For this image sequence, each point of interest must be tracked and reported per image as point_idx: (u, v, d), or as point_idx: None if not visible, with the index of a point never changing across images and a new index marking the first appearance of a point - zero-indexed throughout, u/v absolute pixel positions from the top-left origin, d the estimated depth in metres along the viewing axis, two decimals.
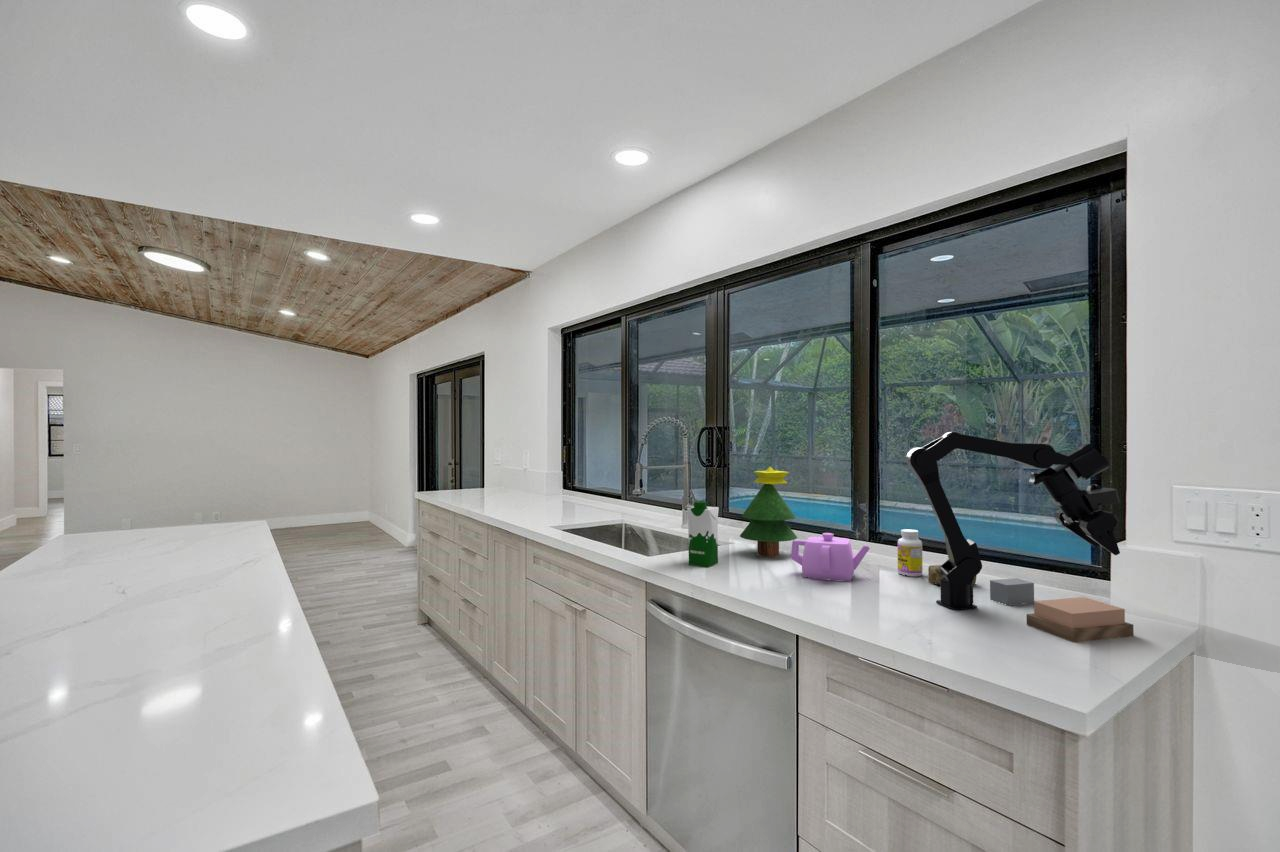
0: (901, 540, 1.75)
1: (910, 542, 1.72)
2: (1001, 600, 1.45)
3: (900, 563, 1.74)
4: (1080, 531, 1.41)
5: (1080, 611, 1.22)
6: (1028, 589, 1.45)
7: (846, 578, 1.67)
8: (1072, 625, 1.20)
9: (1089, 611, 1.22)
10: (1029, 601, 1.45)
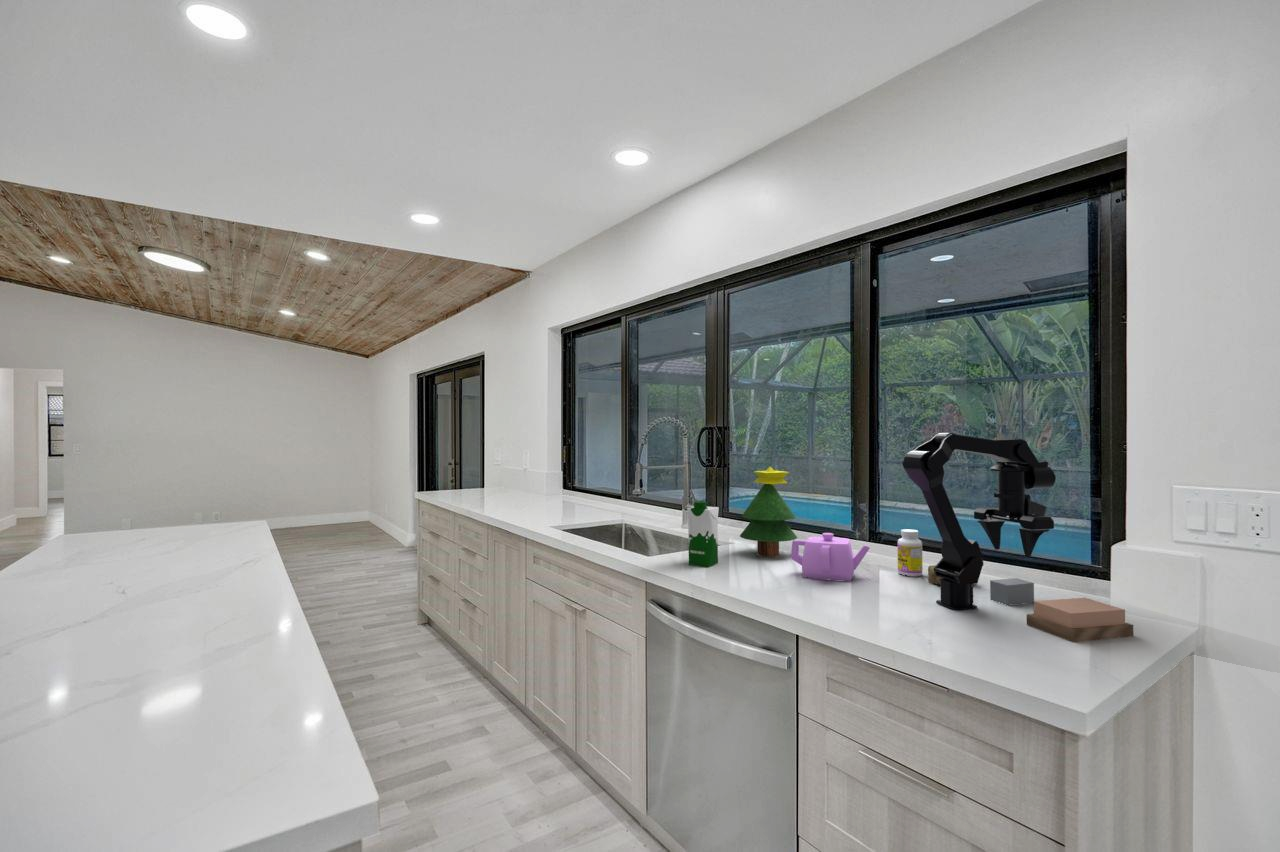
0: (901, 540, 1.75)
1: (910, 542, 1.72)
2: (1002, 600, 1.45)
3: (900, 563, 1.74)
4: (992, 531, 1.52)
5: (1079, 611, 1.22)
6: (1028, 589, 1.45)
7: (846, 578, 1.67)
8: (1071, 624, 1.20)
9: (1088, 611, 1.22)
10: (1029, 601, 1.46)
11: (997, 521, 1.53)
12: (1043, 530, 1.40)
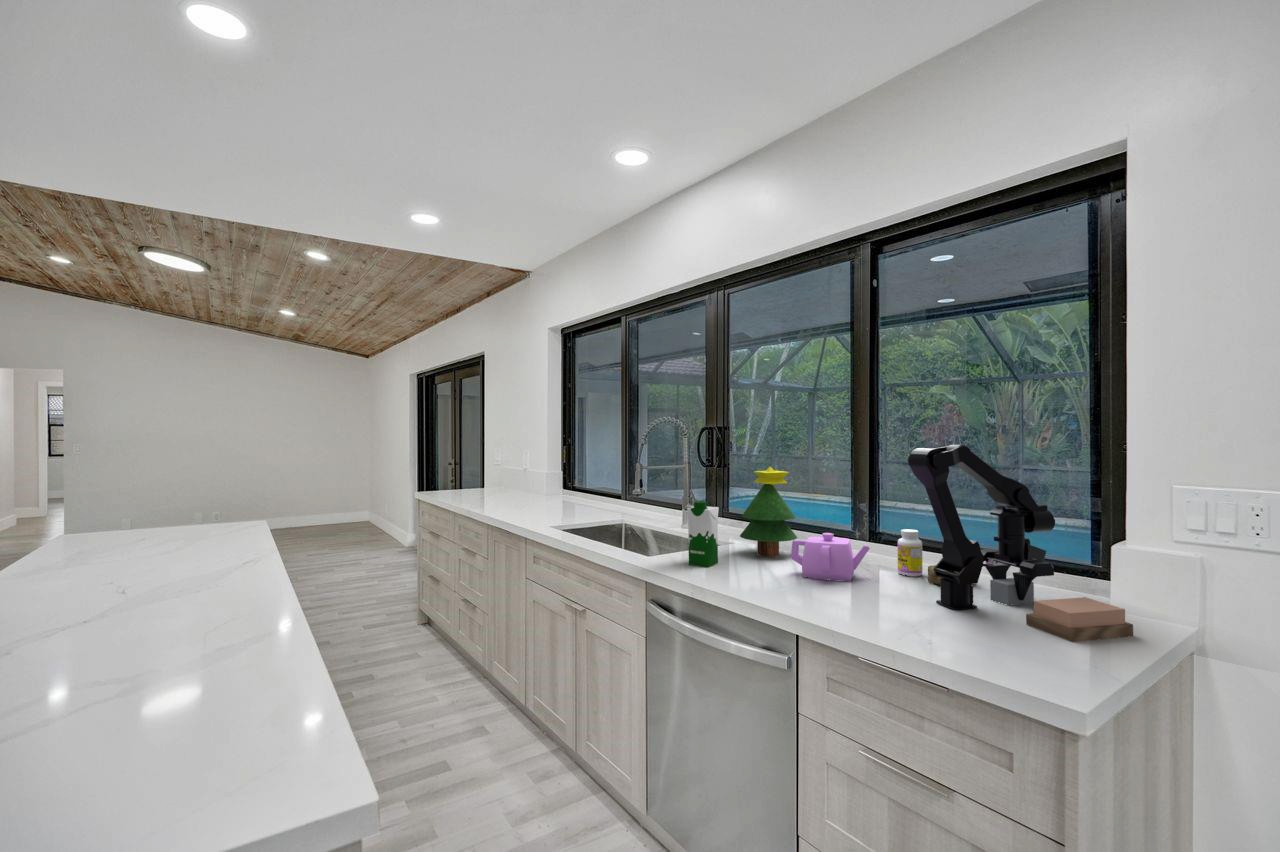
0: (901, 540, 1.75)
1: (910, 542, 1.72)
2: (1002, 600, 1.45)
3: (900, 563, 1.74)
4: (998, 575, 1.50)
5: (1079, 610, 1.22)
6: None
7: (846, 578, 1.67)
8: (1070, 624, 1.20)
9: (1088, 611, 1.22)
10: (1029, 600, 1.46)
11: (1003, 565, 1.51)
12: None
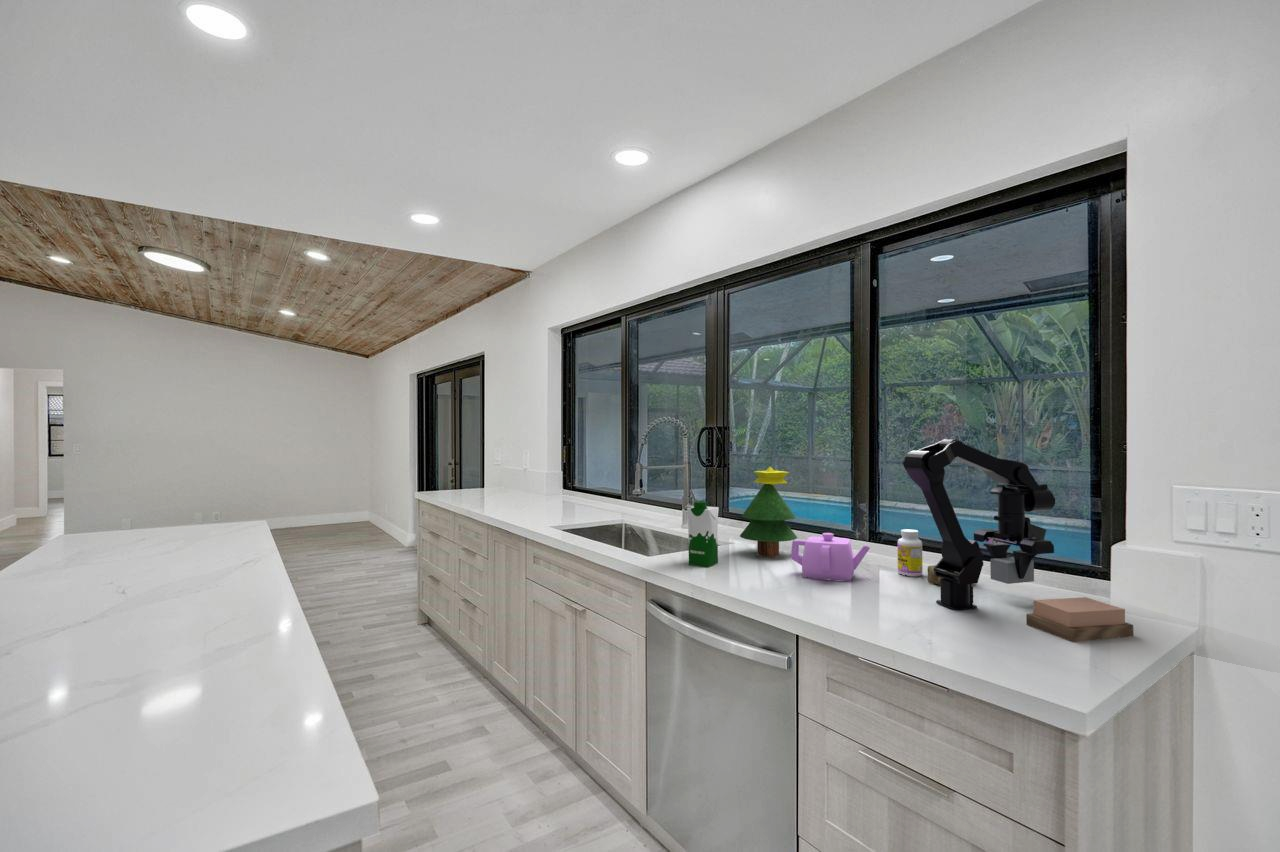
0: (901, 540, 1.75)
1: (910, 542, 1.72)
2: (1002, 578, 1.45)
3: (900, 563, 1.74)
4: (998, 554, 1.50)
5: (1078, 610, 1.22)
6: (1028, 567, 1.46)
7: (846, 578, 1.67)
8: (1069, 623, 1.21)
9: (1087, 610, 1.22)
10: (1029, 578, 1.46)
11: (1003, 544, 1.51)
12: None
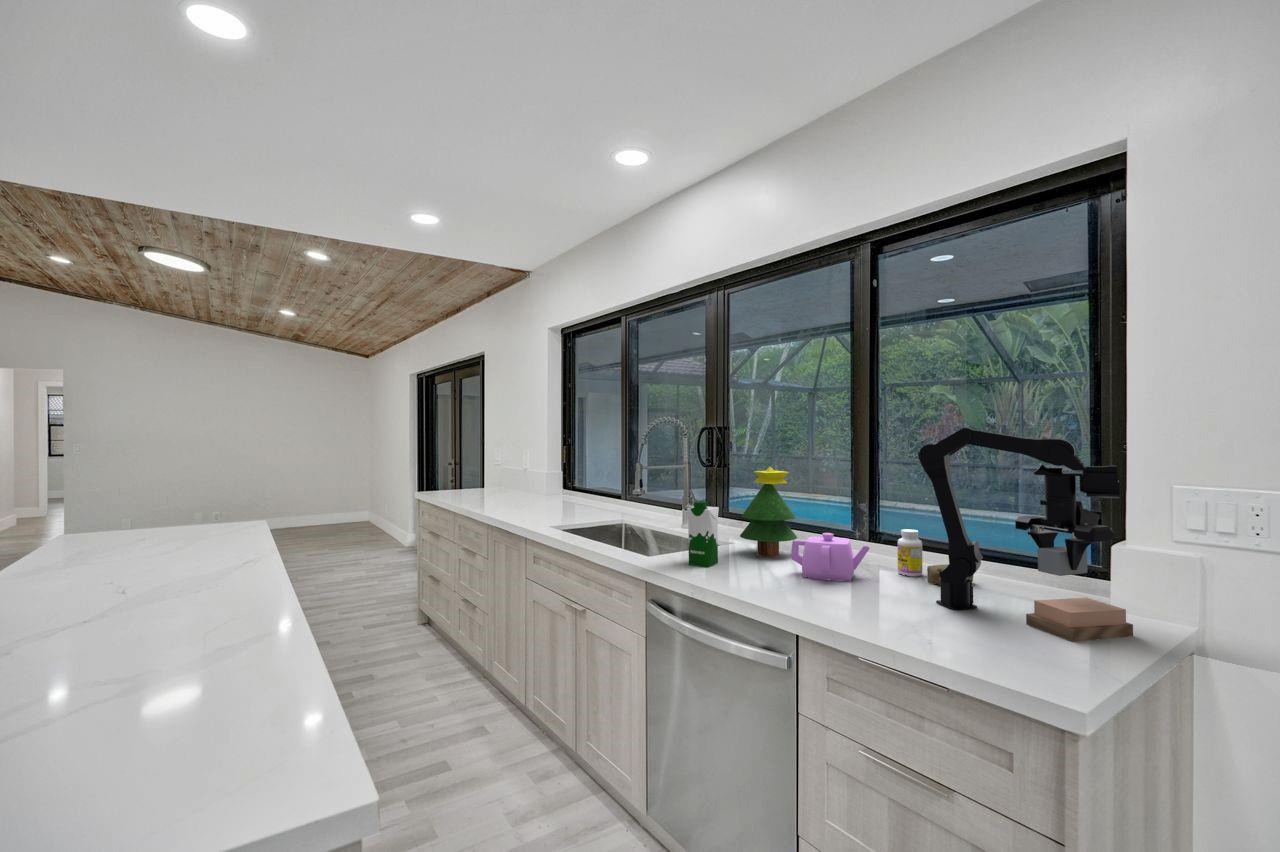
0: (901, 540, 1.75)
1: (910, 542, 1.72)
2: (1053, 570, 1.29)
3: (900, 563, 1.74)
4: (1045, 544, 1.34)
5: (1079, 610, 1.22)
6: None
7: (846, 578, 1.67)
8: (1070, 624, 1.21)
9: (1088, 611, 1.22)
10: (1082, 570, 1.29)
11: (1050, 532, 1.35)
12: (1092, 540, 1.25)
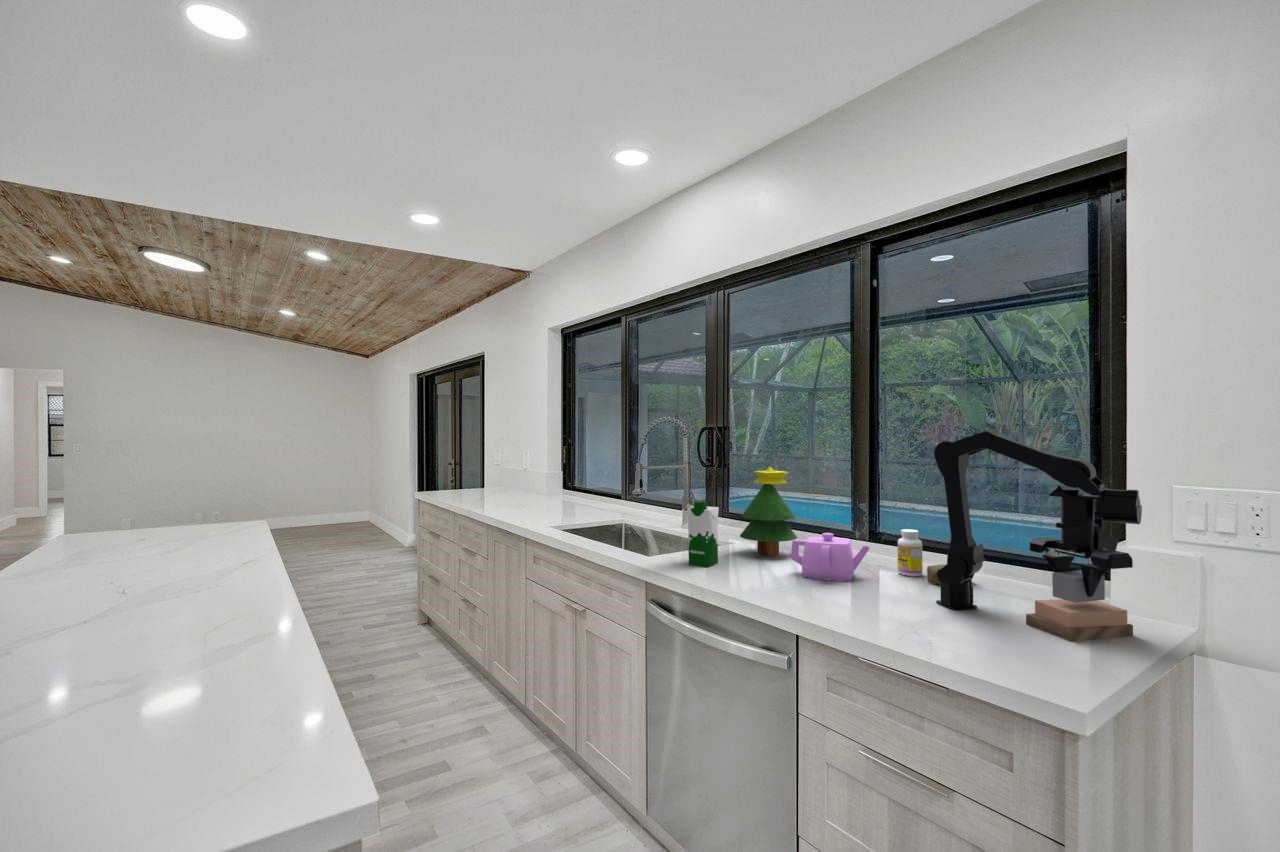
0: (901, 540, 1.75)
1: (910, 542, 1.72)
2: (1068, 596, 1.24)
3: (900, 563, 1.74)
4: (1060, 568, 1.29)
5: (1079, 610, 1.22)
6: None
7: (846, 578, 1.67)
8: (1069, 624, 1.21)
9: (1088, 611, 1.22)
10: (1099, 596, 1.24)
11: (1066, 556, 1.30)
12: None
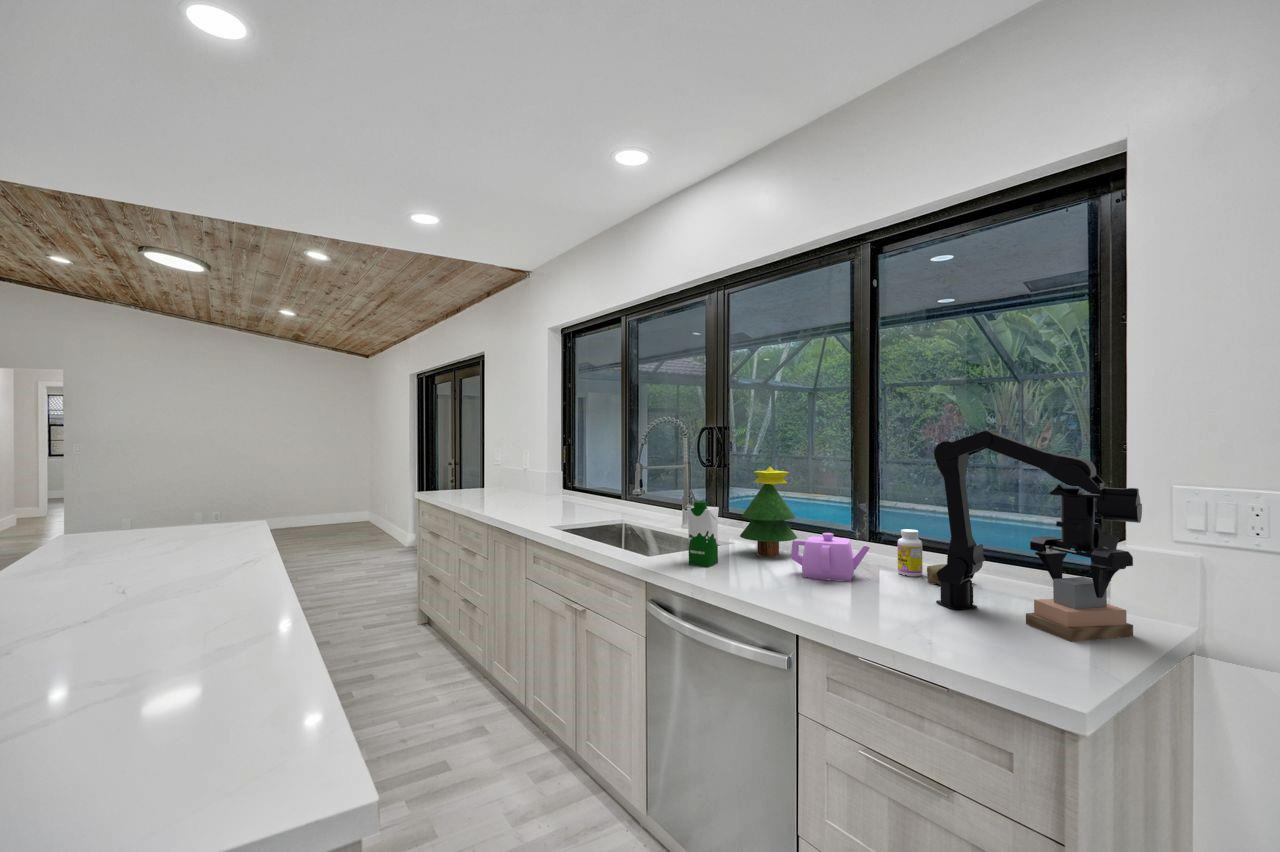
0: (901, 540, 1.75)
1: (910, 542, 1.72)
2: (1068, 602, 1.24)
3: (900, 563, 1.74)
4: (1053, 564, 1.30)
5: (1077, 610, 1.22)
6: None
7: (846, 578, 1.67)
8: (1067, 623, 1.21)
9: (1087, 610, 1.22)
10: (1101, 603, 1.24)
11: (1058, 553, 1.31)
12: (1119, 567, 1.18)
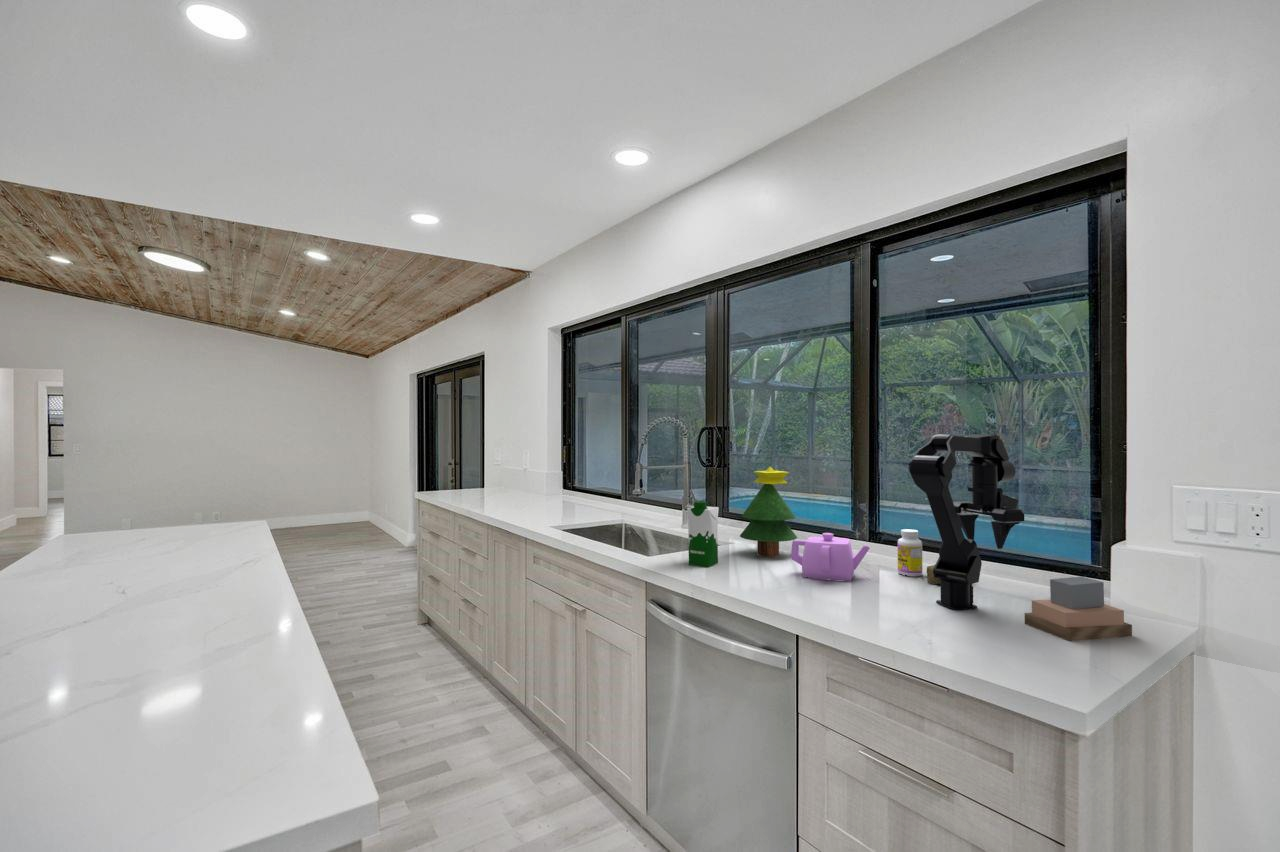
0: (901, 540, 1.75)
1: (910, 542, 1.72)
2: (1065, 603, 1.24)
3: (900, 563, 1.74)
4: (966, 524, 1.56)
5: (1075, 610, 1.22)
6: (1097, 589, 1.24)
7: (846, 578, 1.67)
8: (1066, 624, 1.21)
9: (1085, 611, 1.22)
10: (1098, 603, 1.24)
11: (971, 514, 1.57)
12: (1014, 522, 1.44)
